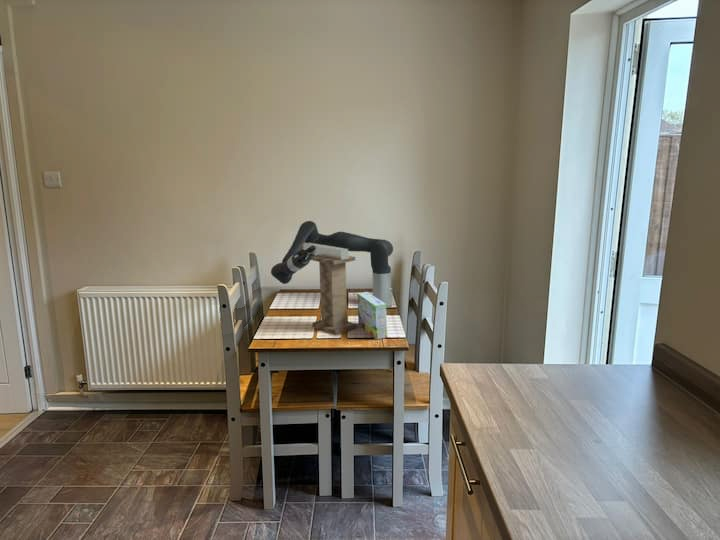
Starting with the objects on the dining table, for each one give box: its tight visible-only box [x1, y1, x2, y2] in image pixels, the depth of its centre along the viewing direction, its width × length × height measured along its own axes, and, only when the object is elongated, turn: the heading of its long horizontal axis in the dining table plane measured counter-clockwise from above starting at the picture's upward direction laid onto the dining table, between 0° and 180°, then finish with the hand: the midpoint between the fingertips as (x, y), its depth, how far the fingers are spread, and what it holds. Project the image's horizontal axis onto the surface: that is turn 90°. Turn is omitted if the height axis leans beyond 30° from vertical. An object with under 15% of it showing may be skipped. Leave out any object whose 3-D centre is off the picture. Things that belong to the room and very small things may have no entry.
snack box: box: [356, 291, 388, 341], centre depth 206 cm, size 21×6×15 cm, turn 21°
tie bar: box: [303, 243, 349, 260], centre depth 210 cm, size 26×4×4 cm, turn 44°
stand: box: [310, 255, 358, 336], centre depth 210 cm, size 16×12×32 cm
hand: (317, 246), depth 213 cm, fingers closed on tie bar, 4 cm apart
